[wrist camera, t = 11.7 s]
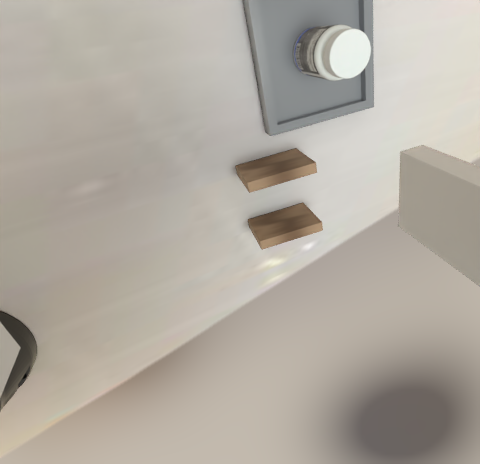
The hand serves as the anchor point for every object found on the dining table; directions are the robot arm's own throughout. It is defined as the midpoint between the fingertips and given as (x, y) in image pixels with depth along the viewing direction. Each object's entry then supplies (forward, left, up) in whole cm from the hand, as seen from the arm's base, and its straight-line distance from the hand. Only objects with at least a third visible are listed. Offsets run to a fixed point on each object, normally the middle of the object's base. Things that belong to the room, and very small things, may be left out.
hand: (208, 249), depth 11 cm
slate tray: (+17, +1, -32) cm, 36 cm away
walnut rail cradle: (+10, -14, -32) cm, 36 cm away
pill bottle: (+17, +1, -31) cm, 35 cm away
